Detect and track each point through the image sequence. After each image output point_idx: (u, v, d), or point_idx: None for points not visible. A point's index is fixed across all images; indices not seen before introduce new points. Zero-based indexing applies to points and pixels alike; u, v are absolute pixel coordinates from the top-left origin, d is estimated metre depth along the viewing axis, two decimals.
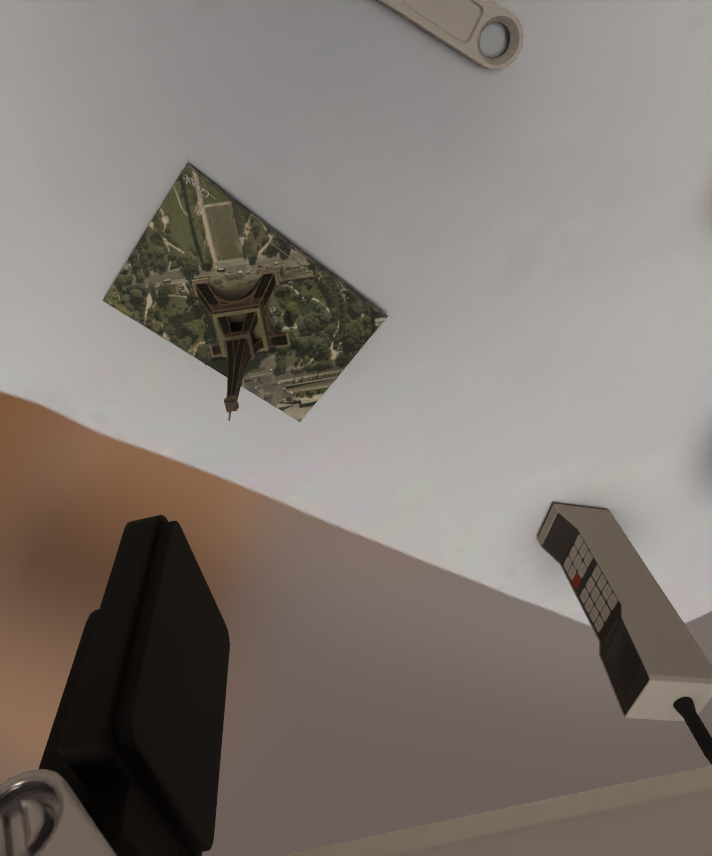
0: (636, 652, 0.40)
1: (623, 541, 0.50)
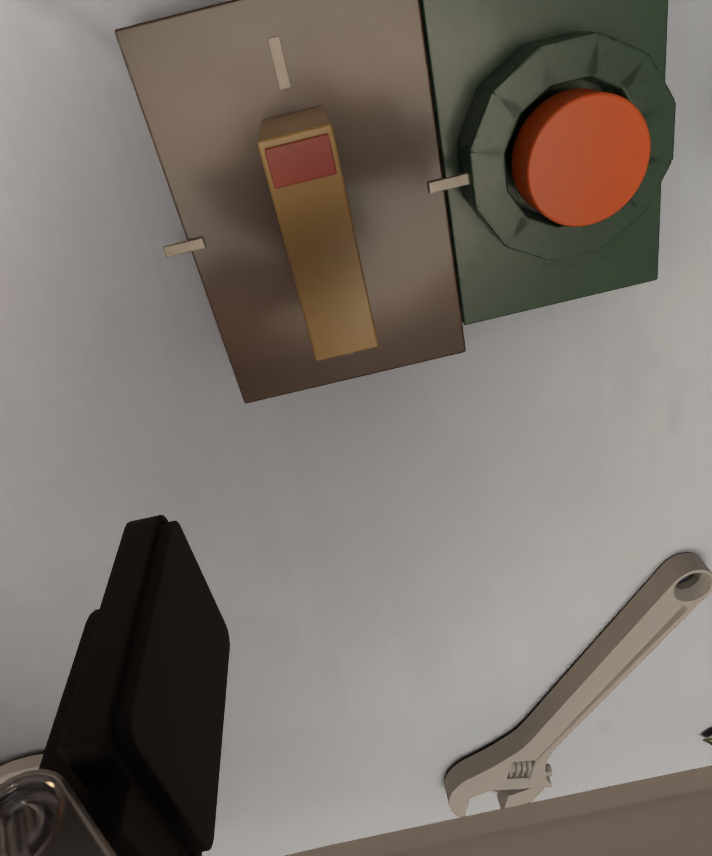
0: None
1: None
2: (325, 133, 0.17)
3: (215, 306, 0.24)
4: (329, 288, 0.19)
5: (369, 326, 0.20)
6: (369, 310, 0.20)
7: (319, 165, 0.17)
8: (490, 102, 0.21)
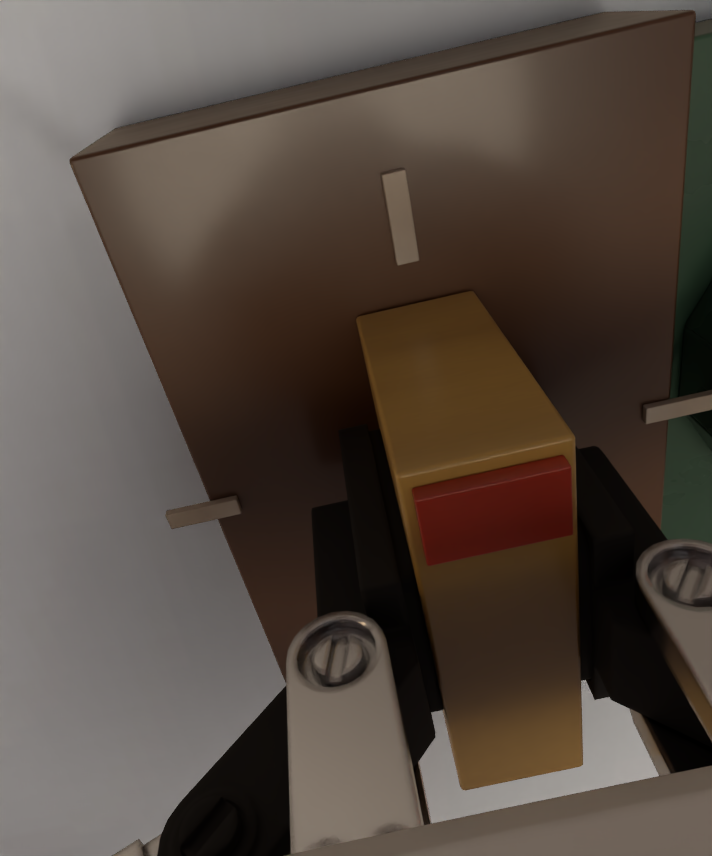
0: None
1: None
2: (559, 455, 0.07)
3: (254, 588, 0.14)
4: (509, 697, 0.09)
5: (573, 742, 0.10)
6: (579, 722, 0.10)
7: (537, 522, 0.07)
8: None
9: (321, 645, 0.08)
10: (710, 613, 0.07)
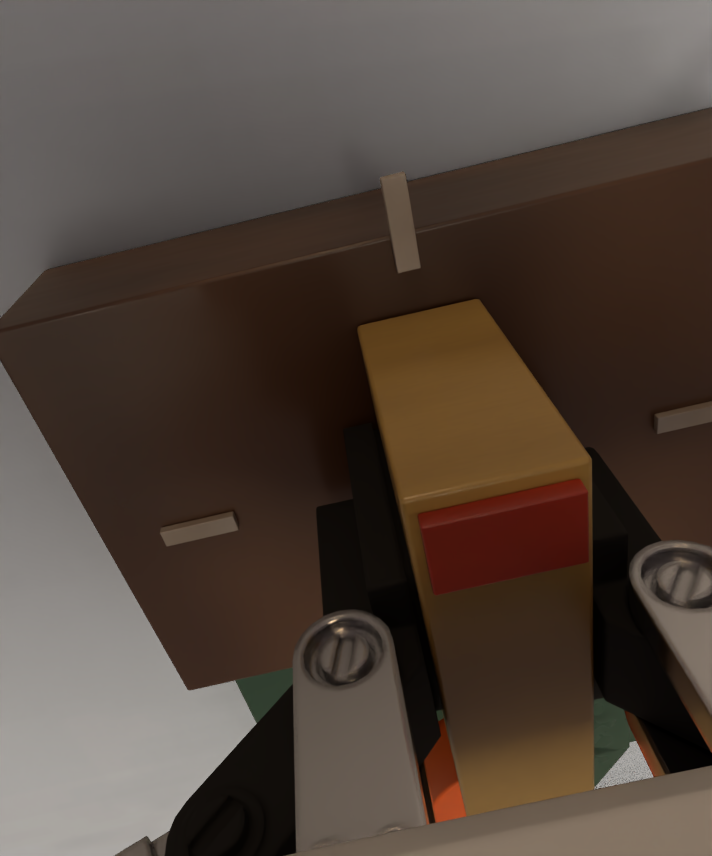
0: None
1: None
2: (574, 479, 0.07)
3: (253, 280, 0.10)
4: (518, 727, 0.09)
5: (585, 771, 0.10)
6: (591, 751, 0.09)
7: (551, 550, 0.07)
8: None
9: (327, 643, 0.08)
10: (703, 614, 0.07)
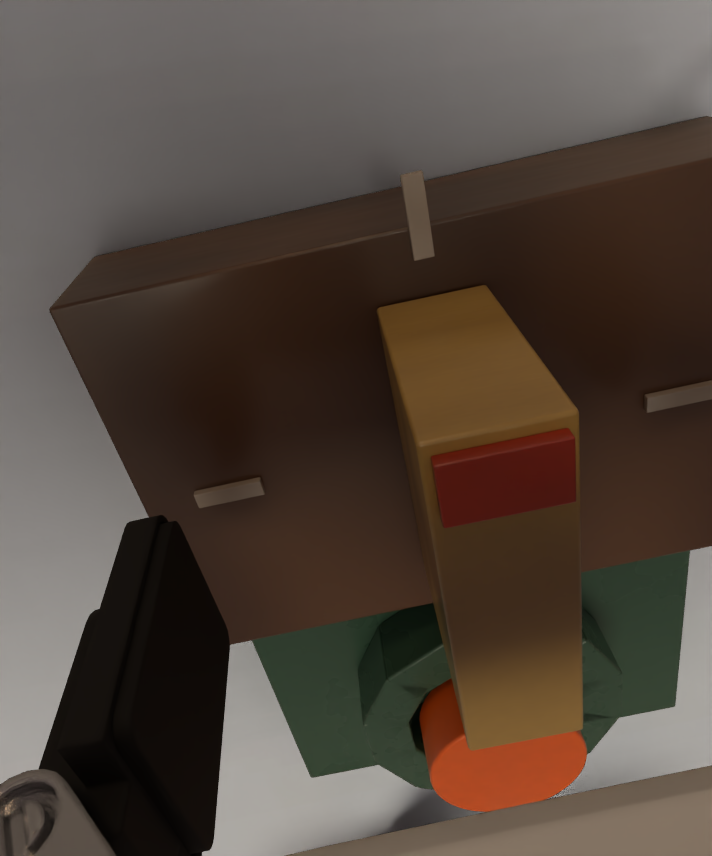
0: None
1: None
2: (564, 428, 0.08)
3: (285, 265, 0.11)
4: (515, 659, 0.10)
5: (574, 706, 0.11)
6: (580, 685, 0.11)
7: (544, 489, 0.08)
8: None
9: None
10: None
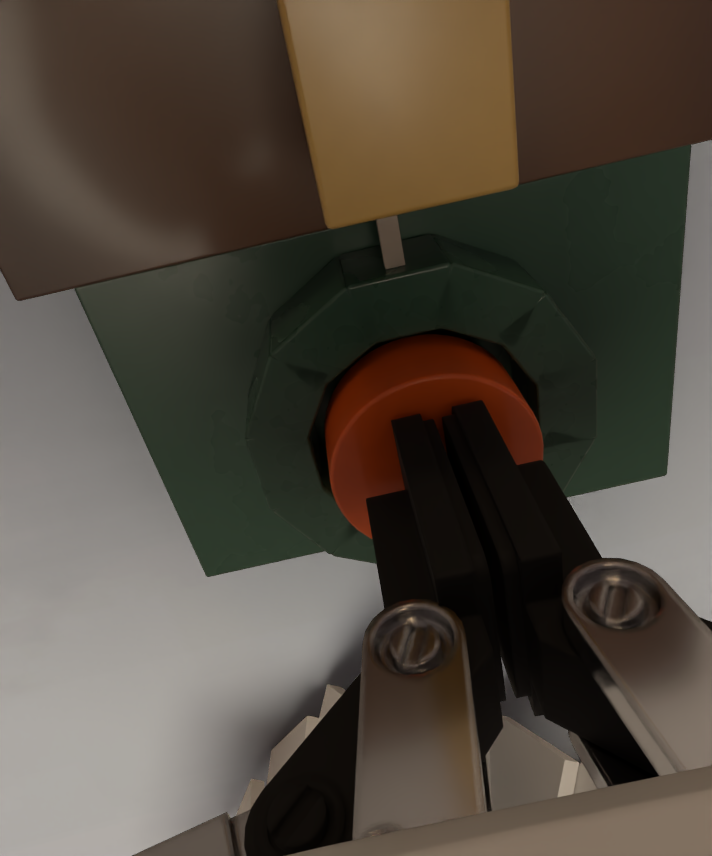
0: None
1: None
2: None
3: None
4: None
5: (500, 112, 0.06)
6: (508, 49, 0.06)
7: None
8: (528, 291, 0.12)
9: (399, 631, 0.08)
10: (638, 634, 0.07)
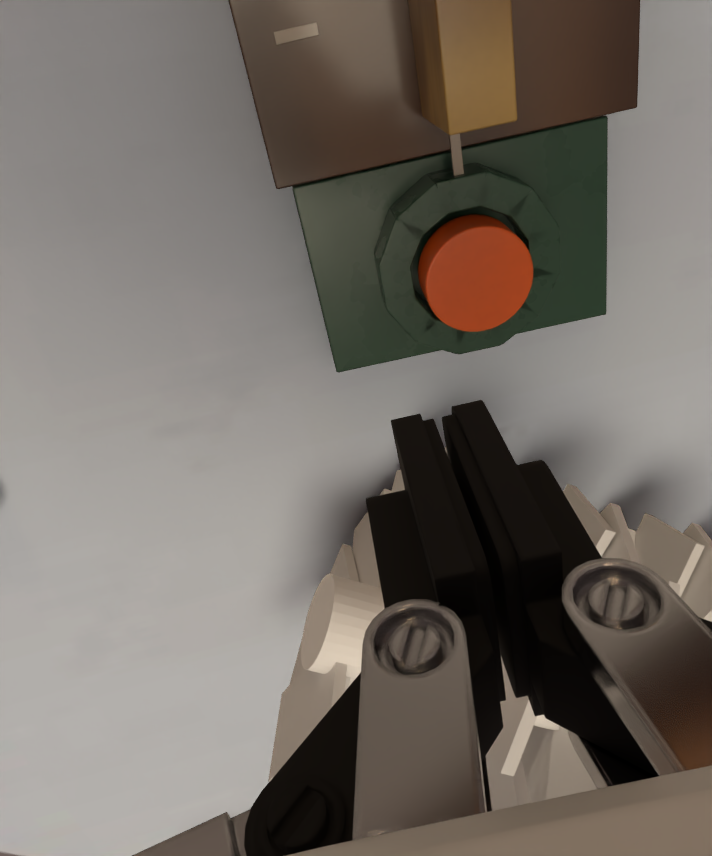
0: None
1: None
2: None
3: None
4: (474, 40, 0.17)
5: (511, 93, 0.18)
6: (513, 72, 0.18)
7: None
8: (524, 187, 0.24)
9: (398, 630, 0.08)
10: (638, 634, 0.07)
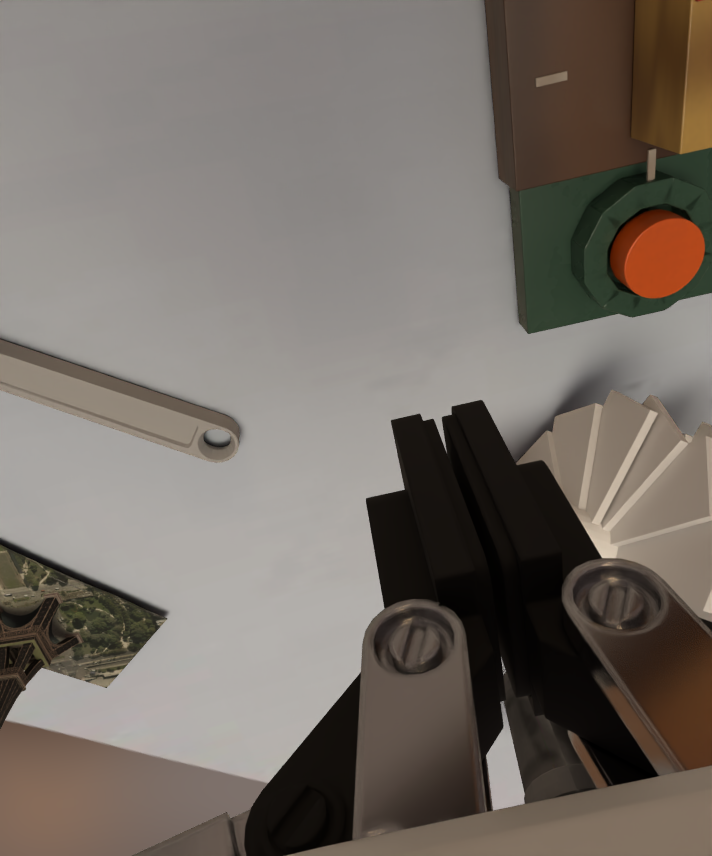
0: None
1: None
2: None
3: None
4: (708, 90, 0.25)
5: None
6: None
7: None
8: (698, 189, 0.32)
9: (398, 630, 0.08)
10: (638, 634, 0.07)
